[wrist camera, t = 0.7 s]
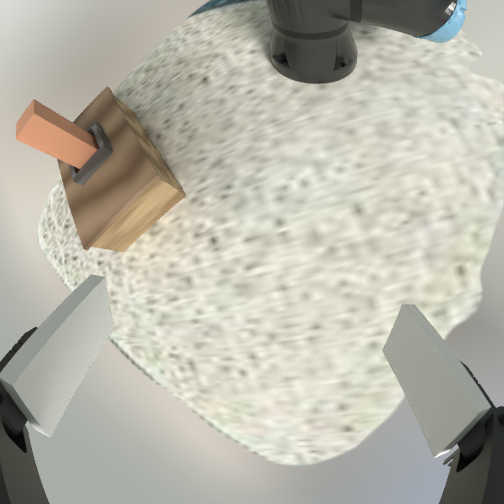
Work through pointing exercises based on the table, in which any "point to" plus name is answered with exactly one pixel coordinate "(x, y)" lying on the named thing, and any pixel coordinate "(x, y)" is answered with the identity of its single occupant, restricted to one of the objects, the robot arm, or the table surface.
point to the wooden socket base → (117, 178)
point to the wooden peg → (55, 135)
